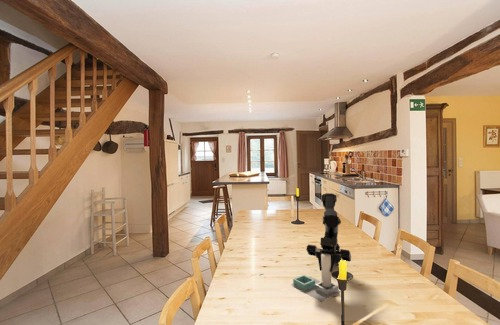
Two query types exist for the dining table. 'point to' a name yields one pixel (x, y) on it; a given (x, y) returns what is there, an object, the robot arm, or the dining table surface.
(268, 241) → the dining table surface
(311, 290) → the console board
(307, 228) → the dining table surface
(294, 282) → the teal socket
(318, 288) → the grey socket
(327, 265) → the plug
